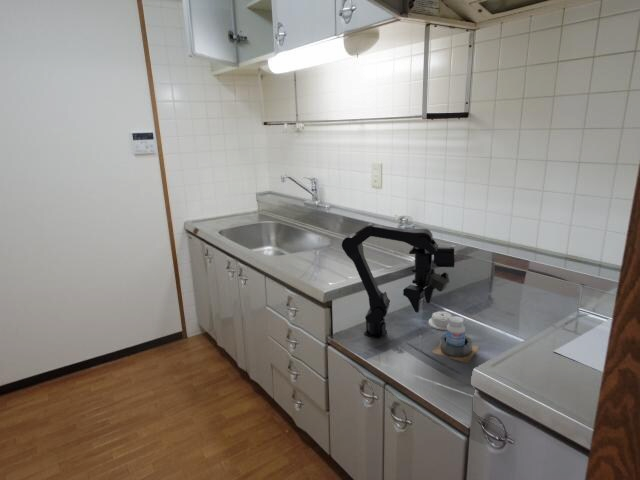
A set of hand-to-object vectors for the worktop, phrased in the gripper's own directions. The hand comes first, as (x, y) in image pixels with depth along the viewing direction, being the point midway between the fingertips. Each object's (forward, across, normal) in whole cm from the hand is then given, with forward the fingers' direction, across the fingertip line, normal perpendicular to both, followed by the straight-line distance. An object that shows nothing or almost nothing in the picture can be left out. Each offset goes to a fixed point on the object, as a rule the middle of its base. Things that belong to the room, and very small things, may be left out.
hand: (422, 307), depth 142 cm
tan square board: (+12, -2, -13) cm, 18 cm away
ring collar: (+12, -2, -13) cm, 17 cm away
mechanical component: (+12, +14, -2) cm, 18 cm away
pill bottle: (+12, -2, -13) cm, 17 cm away
